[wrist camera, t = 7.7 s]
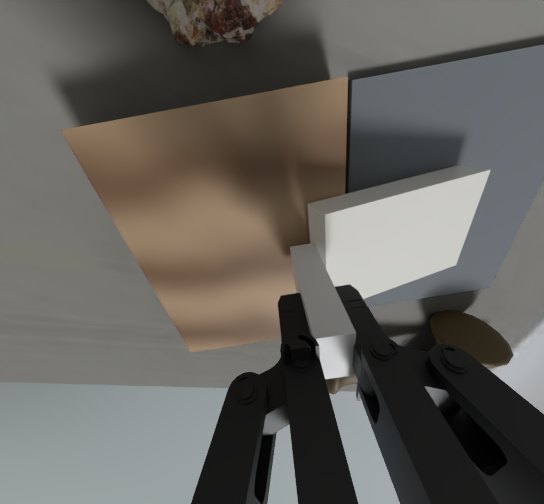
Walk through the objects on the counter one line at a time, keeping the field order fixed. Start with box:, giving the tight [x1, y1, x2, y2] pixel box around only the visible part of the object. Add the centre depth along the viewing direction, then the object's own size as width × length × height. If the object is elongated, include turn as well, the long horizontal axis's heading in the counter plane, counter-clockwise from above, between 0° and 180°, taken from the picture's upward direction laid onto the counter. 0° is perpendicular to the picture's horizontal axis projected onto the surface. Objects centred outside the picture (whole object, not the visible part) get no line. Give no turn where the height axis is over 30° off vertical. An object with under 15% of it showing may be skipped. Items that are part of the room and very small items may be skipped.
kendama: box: [325, 311, 513, 394], centre depth 23 cm, size 6×10×20 cm
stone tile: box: [308, 166, 491, 299], centre depth 14 cm, size 7×11×2 cm, turn 98°
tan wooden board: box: [60, 76, 348, 352], centre depth 16 cm, size 18×14×2 cm
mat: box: [347, 45, 544, 307], centre depth 16 cm, size 18×14×1 cm
